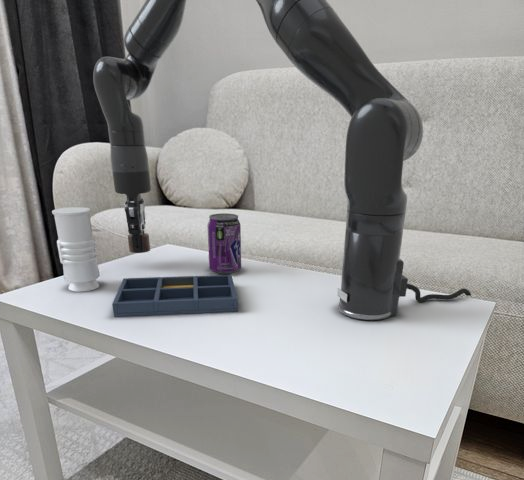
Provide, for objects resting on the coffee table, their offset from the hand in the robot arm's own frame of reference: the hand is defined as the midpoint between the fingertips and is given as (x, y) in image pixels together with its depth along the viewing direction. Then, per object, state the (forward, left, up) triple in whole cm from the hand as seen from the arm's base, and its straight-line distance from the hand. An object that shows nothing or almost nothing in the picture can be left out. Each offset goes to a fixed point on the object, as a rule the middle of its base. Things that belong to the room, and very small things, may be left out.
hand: (139, 248), depth 107 cm
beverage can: (-19, +6, -4) cm, 20 cm away
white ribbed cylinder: (+10, +14, -4) cm, 18 cm away
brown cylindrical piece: (0, 0, 0) cm, 0 cm away
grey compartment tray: (-9, +24, -4) cm, 26 cm away
